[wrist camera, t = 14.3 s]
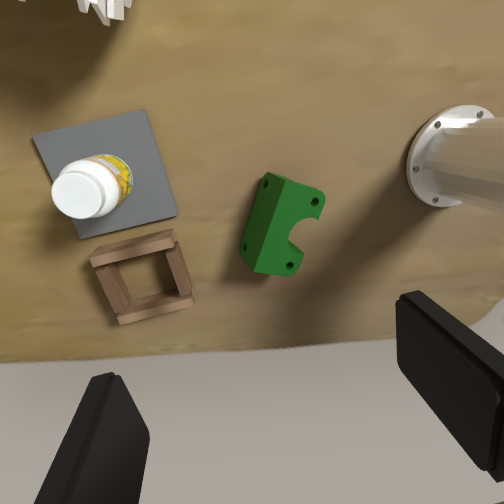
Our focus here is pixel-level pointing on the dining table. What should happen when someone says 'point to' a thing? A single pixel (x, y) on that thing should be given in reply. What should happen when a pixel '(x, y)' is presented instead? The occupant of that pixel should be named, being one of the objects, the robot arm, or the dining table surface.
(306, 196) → the clamp
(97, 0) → the white origami shape
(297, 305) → the dining table surface
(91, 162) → the supplement bottle
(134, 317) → the frame
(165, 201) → the rubber mat
